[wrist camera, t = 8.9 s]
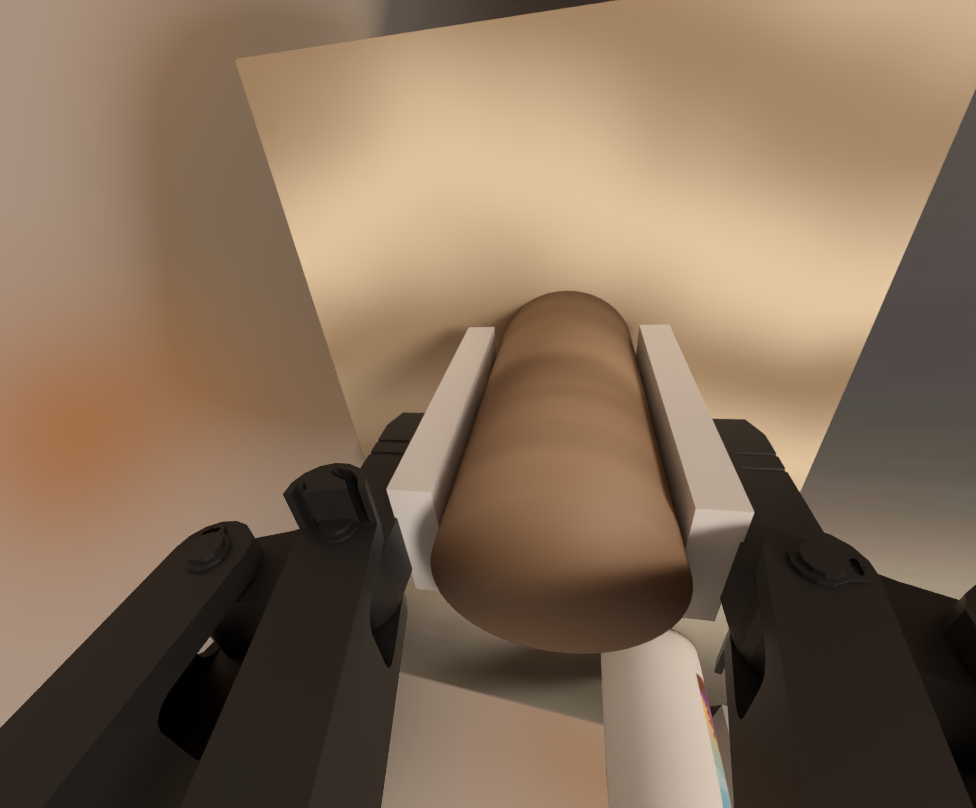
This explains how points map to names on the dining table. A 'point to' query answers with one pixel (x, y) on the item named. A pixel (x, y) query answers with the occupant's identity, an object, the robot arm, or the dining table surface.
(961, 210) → the dining table surface
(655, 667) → the milk bottle
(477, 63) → the lid
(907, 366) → the dining table surface
